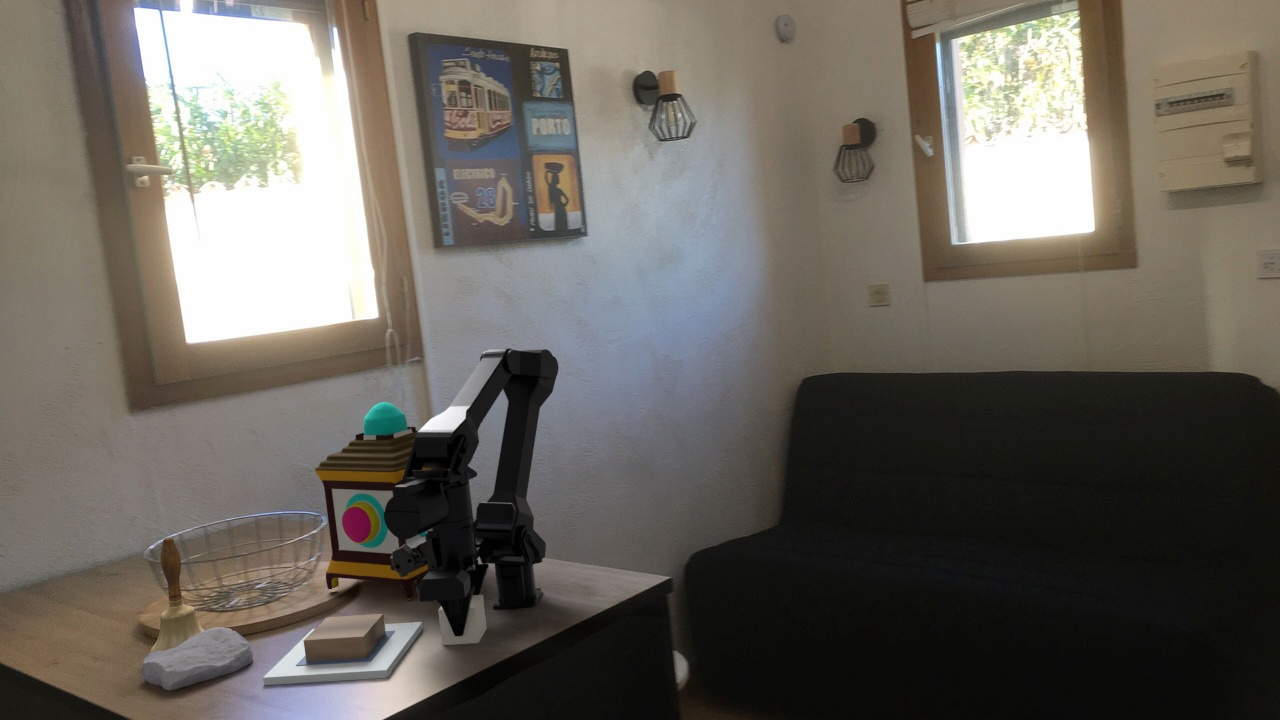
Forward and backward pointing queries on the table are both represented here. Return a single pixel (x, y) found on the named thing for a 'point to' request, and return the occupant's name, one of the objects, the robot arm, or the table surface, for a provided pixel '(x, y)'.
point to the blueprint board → (348, 668)
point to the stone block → (198, 659)
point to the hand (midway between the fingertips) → (463, 628)
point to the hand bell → (174, 604)
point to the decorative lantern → (368, 500)
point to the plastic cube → (473, 625)
